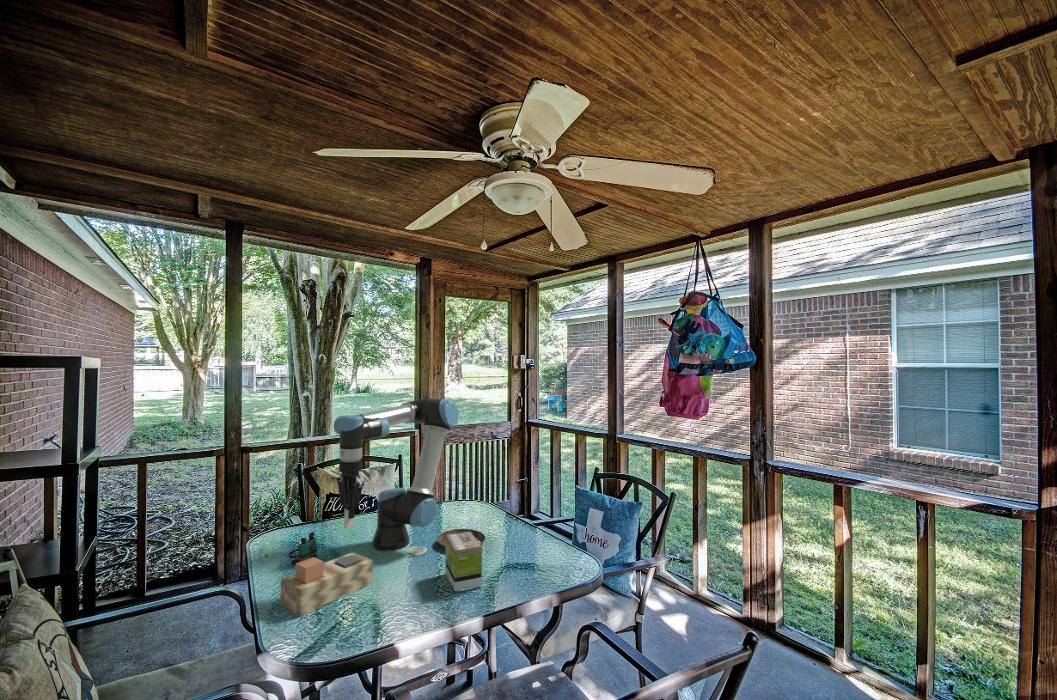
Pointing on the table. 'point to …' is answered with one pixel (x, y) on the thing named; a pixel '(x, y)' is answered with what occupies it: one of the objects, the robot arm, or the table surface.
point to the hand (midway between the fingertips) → (348, 527)
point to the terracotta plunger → (309, 570)
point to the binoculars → (305, 549)
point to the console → (325, 585)
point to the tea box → (463, 560)
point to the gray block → (347, 561)
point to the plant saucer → (476, 534)
